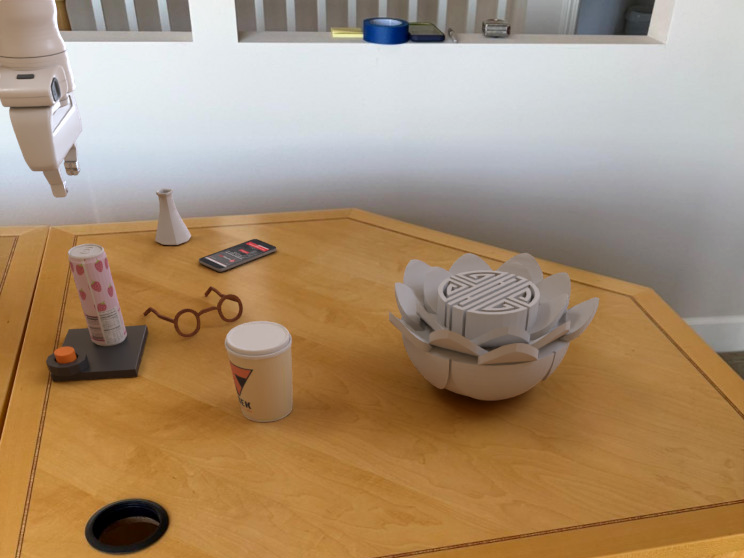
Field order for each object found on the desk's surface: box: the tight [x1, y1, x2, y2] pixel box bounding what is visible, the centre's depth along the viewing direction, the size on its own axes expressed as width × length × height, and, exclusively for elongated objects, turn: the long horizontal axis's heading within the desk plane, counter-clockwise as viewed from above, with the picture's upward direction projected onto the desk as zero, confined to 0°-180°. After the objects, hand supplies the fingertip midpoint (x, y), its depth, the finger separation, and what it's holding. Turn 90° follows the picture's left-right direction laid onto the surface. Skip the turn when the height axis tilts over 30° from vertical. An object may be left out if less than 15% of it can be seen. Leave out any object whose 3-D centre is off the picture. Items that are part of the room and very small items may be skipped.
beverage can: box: [67, 243, 127, 346], centre depth 124 cm, size 6×6×15 cm
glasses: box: [142, 286, 244, 339], centre depth 136 cm, size 13×13×5 cm
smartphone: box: [198, 238, 277, 273], centre depth 157 cm, size 7×1×15 cm
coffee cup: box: [224, 320, 294, 423], centre depth 112 cm, size 9×9×12 cm
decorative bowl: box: [388, 252, 600, 402], centre depth 118 cm, size 30×30×15 cm
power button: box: [53, 346, 77, 364], centre depth 121 cm, size 3×3×2 cm
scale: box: [45, 324, 149, 383], centre depth 126 cm, size 14×16×3 cm
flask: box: [154, 187, 192, 246], centre depth 161 cm, size 7×7×10 cm
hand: (67, 184), depth 112 cm, fingers open, 8 cm apart
